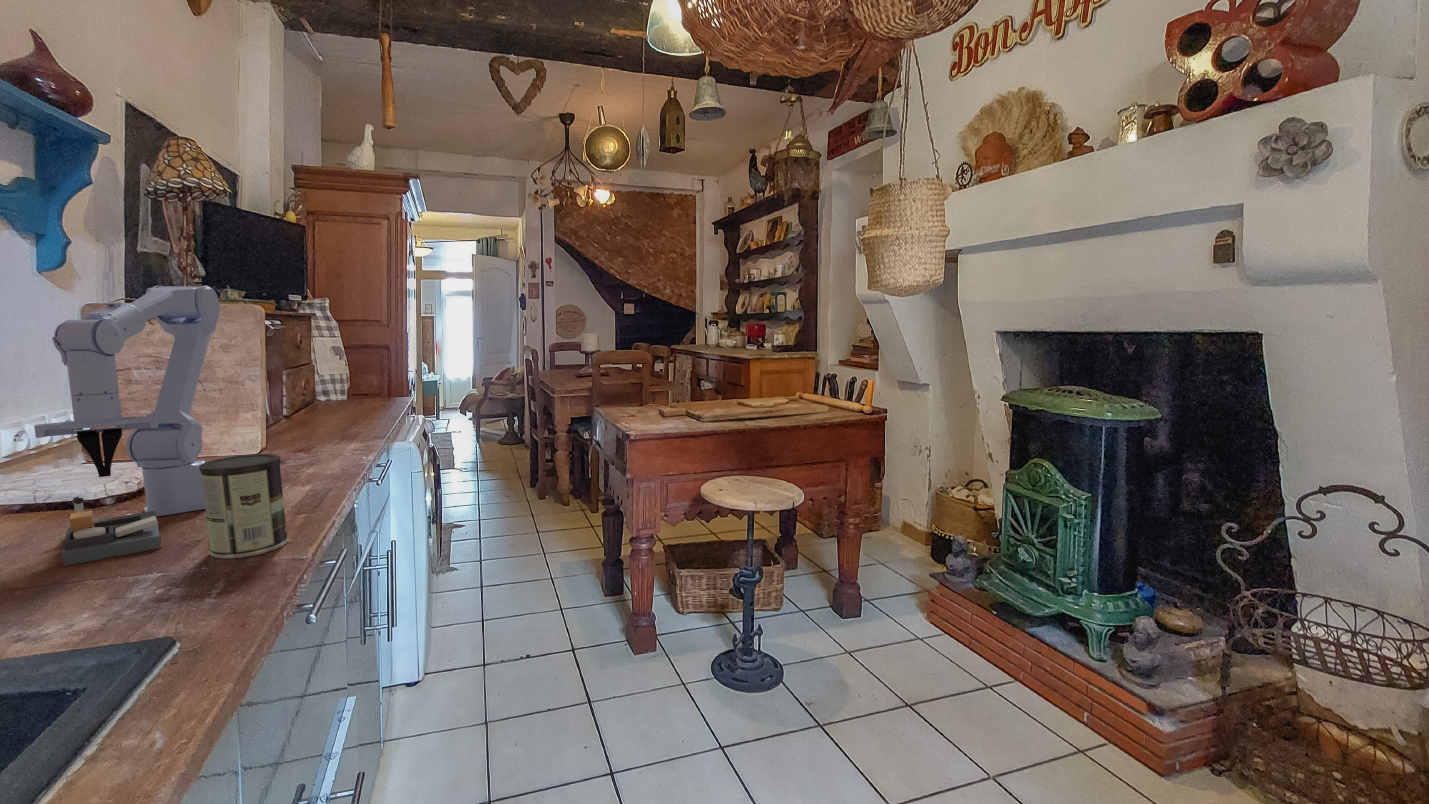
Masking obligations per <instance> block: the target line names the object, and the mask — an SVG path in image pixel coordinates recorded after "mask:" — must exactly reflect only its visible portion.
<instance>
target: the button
mask: <svg viewBox="0 0 1429 804" xmlns="http://www.w3.org/2000/svg"><path fill="white" fill-rule="evenodd" d="M103 534H106V530H105V528H104V527H94V528H87V529H83V530H79V531H76V532H74V533H73V536H74V539H79V538H85V537H91V536H97V535H103Z"/></svg>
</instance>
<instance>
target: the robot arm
mask: <svg viewBox="0 0 1429 804" xmlns="http://www.w3.org/2000/svg"><path fill="white" fill-rule="evenodd" d="M105 306H106V307H104V308H102V309H100V310H98V311H90V312H88V313H86V316H85V317H82V318H81V319H67V320H65V321H63V322H61V323H60V324H59V325H57V326H56V328H55V331H54V336H52V343H53V344H54V347H55V348H56V350H57V351H58V352H59V354H60V356H61V362H62V363H63V365H64V366H66V367H67V374H68V382H69V391H70V399H71V408H72V415H73V420H69V421H60V422H50V423H37V424H35V425H34V426H33V427H34V434H35V438H36V439H39V438H46V437H55V436H57V437H58V436H66V435H67V436H70V435H71V436H72V435H76V437H77V438H76V439H77V440H78V442H79V444H80V445H81V446H82V447H83V449H85V451H86V453H87V454H88V455H89V457H90V458H91V460H92V462H93V465H94V466H95V468H96V471H97V474H98V477H99V478H103V477H111V475H112V474H111V472H112V471H111V469H112V462H113V459H114V456H115V453H116V449H117V448H118V444H119V442H120V440H121V438H122V436H123V431H127V430H128V431H130V430H132V431H131V433H130V434H129V435H128V438H127V439H126V441H125V442H126V443H125V451H126V454H127V456H128V458H129V459H130V460H131V461H132V462H134V463H135V464H136V466H137V468H141V470H142V478H143V480H142V481H143V485H144V486H143V488H144V494H145V502H146V503H145V504H146V506H145V507H143V510H144V513H145V512H151V511H156V517H157V518H158V517H162V516H171V515H175V514H181V513H182V514H183V513H188V512H193V511H200V510H205V502H204V495H203V487H202V479H201V471H200V470H199V465H201V464H203V463H205V462H206V461H205V460H197V459H198V457H199V456H200V454H201V452H202V449H203V440H202V436H203V430H204V428H203V426H202V425H201V424H200V422H198V421H197V420H196V419H195V418H194V417H192V416H191V411H192V409H193V405H194V404H193V403H194V401H195V397H196V392H197V389H198V385H199V382H200V378H201V373H202V369H203V365H204V362H205V358H206V354H207V351H208V347H209V343H210V340H211V339H210V338H211V334H213V333H214V332H216V328H217V324H218V320H219V317H220V314H221V313H220V312H221V308H222V307H221V303H220V300H219V297H218V294H217V292H216V291H215V290H214V289H213V288H212V287H210V286H208V285H200V286H194V285H193V286H192V285H191V286H188V285H187V286H183V285H182V286H177V285H176V286H175V285H173V286H171V285H170V286H163V285H155V286H154V285H153V286H152V287H149V288H146V290H145V294H143V295H142V296H140V297H139V298H137V299H135V300H134V301H131V302H130V303H127V302H121V301H120V300H119V301H117V300H116V301H113V300H112V301H108V302H106V303H105ZM154 318H155V319H156V321H157V322H158V325H160V327H161V328H162V330H163V332H165V333H166V334H169V335H170V336H173V337H174V342H173V344H172V347H171V352H170V354H169V359H168V362H167V365H166V369H165V373H164V376H163V378H162V383H161V387H160V390H159V393H158V398H157V400H156V404H155V408H154V410H153V411H152V412H151V413H148V414H147V415H145V416H126V417H123V415H122V408H121V407H122V406H121V397H120V388H119V381H118V369H117V361H116V354H119V353H120V352H121V351H122V349H123V346H124V342H126V341H127V340H129V339H131V338H132V337H134V336H136V335H137V334H139V333H141V332H142V331H144V330H145V328H146V326H147V325H146V324H147V321H149V320H152V319H154ZM93 428H94V429H93ZM100 433H101V434H100ZM100 436H101V439H100ZM101 443H102V446H101ZM101 447H102V450H101ZM102 451H103V456H102Z"/></svg>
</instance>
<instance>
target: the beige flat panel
mask: <svg viewBox="0 0 1429 804" xmlns="http://www.w3.org/2000/svg"><path fill="white" fill-rule="evenodd" d="M157 523H158V518H157V519H156V517H155V516H152V517H149V518H146V519H143V520H139V521H136V522H133V523H130V524H127V525H124V526H121V527H118V528H115V534H116V536H117V537H120V536H123V535H126V534H129V533H132V532H135V531H138V530H142V529H145V528H148V527H151V526H154V525H157Z"/></svg>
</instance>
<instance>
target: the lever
mask: <svg viewBox="0 0 1429 804" xmlns="http://www.w3.org/2000/svg"><path fill="white" fill-rule="evenodd" d="M84 502H85V500H84V498H83V497H81V496H76V497H74V498H72V504H73V506H74V513H79V512H85V511H84Z"/></svg>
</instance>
